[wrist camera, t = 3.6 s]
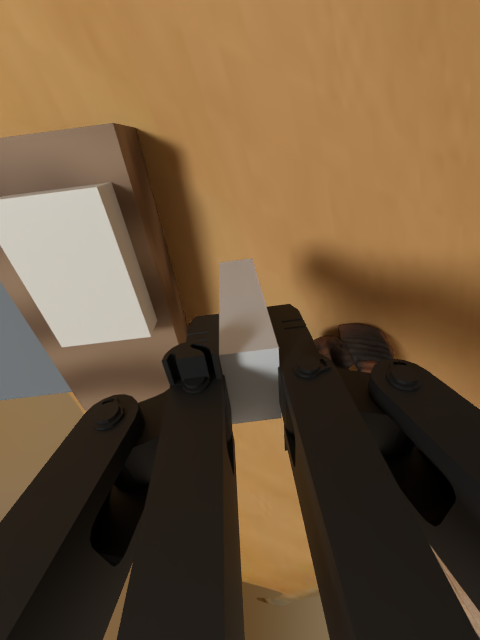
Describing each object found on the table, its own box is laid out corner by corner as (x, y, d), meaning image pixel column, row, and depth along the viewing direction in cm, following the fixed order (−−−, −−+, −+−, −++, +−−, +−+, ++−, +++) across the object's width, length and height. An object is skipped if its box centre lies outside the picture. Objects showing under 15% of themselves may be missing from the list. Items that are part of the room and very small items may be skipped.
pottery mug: (406, 343, 28) (424, 428, 24) (324, 359, 34) (328, 429, 30) (352, 293, 21) (366, 402, 17) (261, 325, 27) (256, 410, 23)
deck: (-24, 148, 17) (-86, 149, 13) (135, 127, 17) (112, 123, 13) (101, 378, 28) (84, 410, 24) (198, 367, 27) (194, 397, 24)
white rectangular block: (3, 196, 15) (-26, 202, 13) (111, 182, 15) (96, 187, 13) (75, 330, 20) (61, 347, 18) (157, 320, 19) (151, 336, 18)
